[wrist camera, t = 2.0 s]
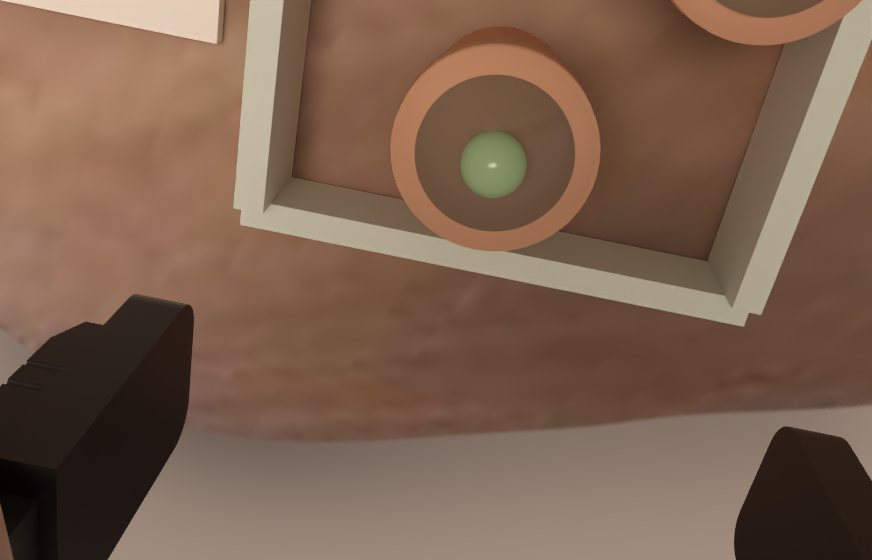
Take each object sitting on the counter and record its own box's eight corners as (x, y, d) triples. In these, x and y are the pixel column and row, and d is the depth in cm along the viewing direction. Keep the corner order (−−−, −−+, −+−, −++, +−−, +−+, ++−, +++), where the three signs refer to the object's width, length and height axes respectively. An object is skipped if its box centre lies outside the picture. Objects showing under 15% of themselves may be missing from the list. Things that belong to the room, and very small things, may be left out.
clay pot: (600, 30, 28) (635, 86, 20) (558, 189, 31) (574, 296, 23) (433, -4, 28) (400, 38, 20) (405, 158, 31) (366, 253, 23)
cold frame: (914, -222, 24) (1681, -440, 8) (724, 289, 32) (938, 695, 16) (315, -343, 24) (-67, -794, 8) (263, 196, 32) (7, 506, 16)
